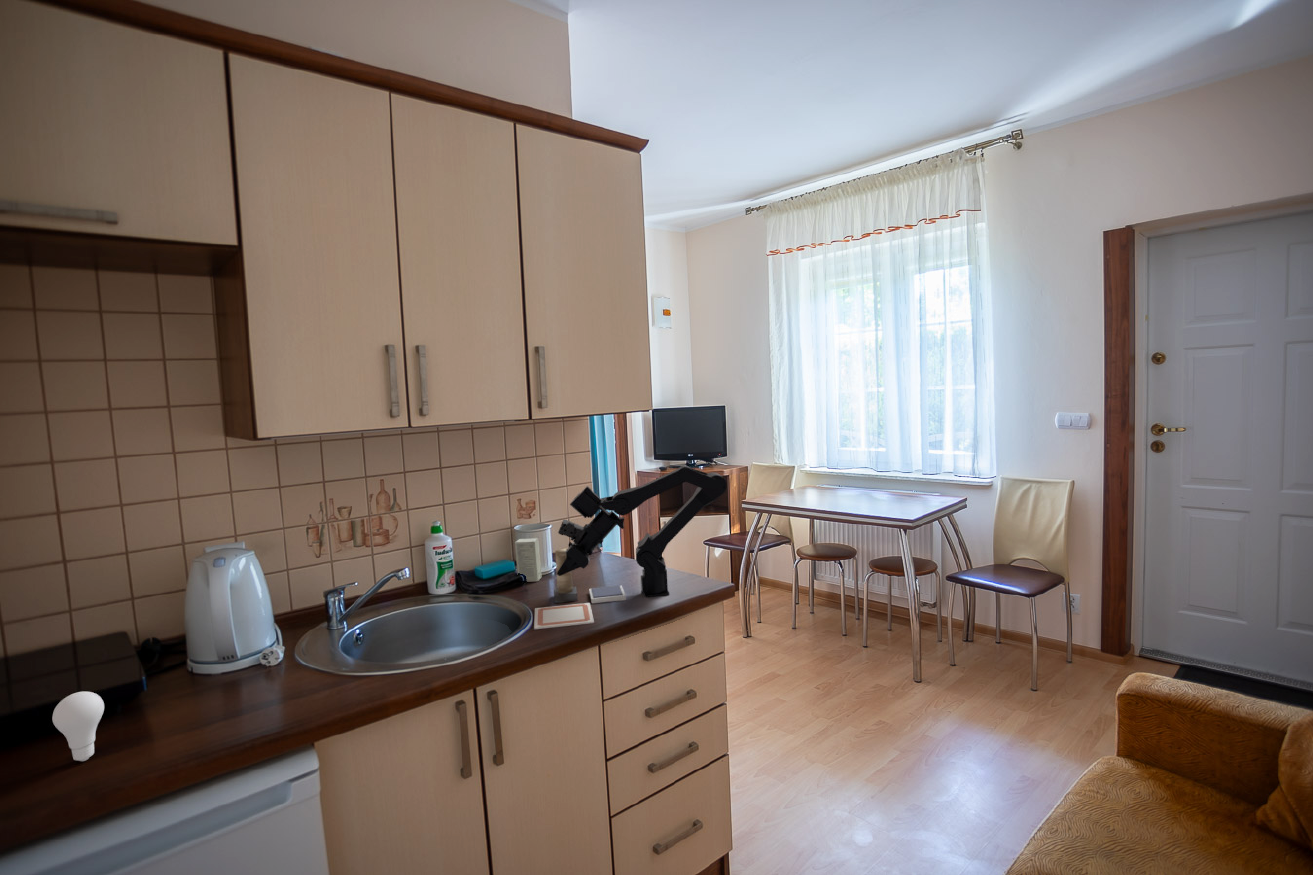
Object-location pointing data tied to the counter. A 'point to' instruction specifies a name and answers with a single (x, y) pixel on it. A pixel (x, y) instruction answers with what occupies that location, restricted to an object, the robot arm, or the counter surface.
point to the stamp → (564, 581)
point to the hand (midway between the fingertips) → (558, 572)
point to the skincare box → (528, 558)
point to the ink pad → (607, 594)
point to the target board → (563, 616)
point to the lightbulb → (79, 722)
